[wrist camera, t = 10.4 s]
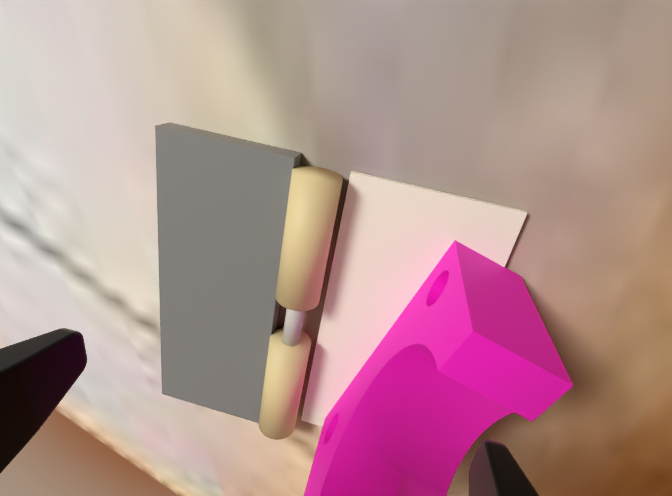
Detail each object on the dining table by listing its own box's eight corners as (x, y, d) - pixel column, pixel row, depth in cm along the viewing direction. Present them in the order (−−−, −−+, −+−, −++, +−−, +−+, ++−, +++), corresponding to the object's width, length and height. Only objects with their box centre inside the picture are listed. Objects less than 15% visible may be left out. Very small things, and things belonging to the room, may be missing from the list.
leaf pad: (526, 210, 18) (527, 213, 18) (423, 452, 26) (423, 456, 26) (351, 170, 19) (350, 172, 19) (302, 416, 27) (300, 420, 27)
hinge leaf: (348, 163, 19) (339, 175, 17) (298, 418, 27) (288, 449, 25) (169, 122, 20) (139, 129, 18) (172, 381, 28) (151, 407, 26)
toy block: (407, 461, 26) (402, 596, 20) (324, 417, 26) (292, 538, 19) (564, 300, 19) (639, 421, 13) (454, 239, 19) (472, 331, 13)
